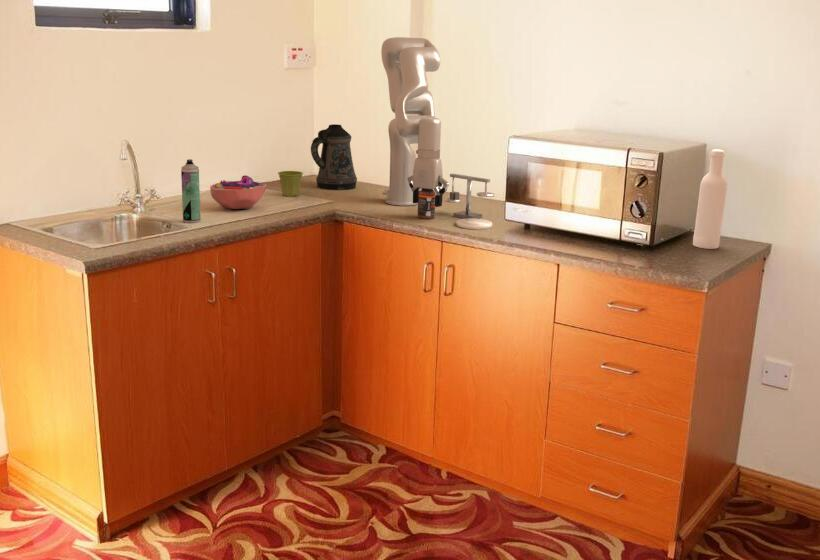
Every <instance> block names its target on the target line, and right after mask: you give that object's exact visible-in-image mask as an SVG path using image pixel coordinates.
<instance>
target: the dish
mask: <svg viewBox="0 0 820 560" xmlns="http://www.w3.org/2000/svg"><path fill="white" fill-rule="evenodd" d="M455 226H457V227H458V228H460V229H465V230H466V229H467V230H475V231H476V230H478V231H479V230H480V231H481V230H488V229H491V228H493V222H492V221H490V220H488V219H482V218H478V219H474V218H467V219H464V218H460V219H457V220H456V224H455Z"/></svg>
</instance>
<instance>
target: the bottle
mask: <svg viewBox="0 0 820 560" xmlns="http://www.w3.org/2000/svg"><path fill="white" fill-rule="evenodd" d="M724 158H725V151H724V150H722V149H712V150H711V152H710V162H709V163H710V164H709V169H708V173H707V174H705V175H704V176H703V177H702V179H701V181H700V185H699V194H698V200H697V202H698V203H697V209H696V216H695V224H694V232H693V233H694V234H693V235H692V236H693V237H692V245H693V247H695V248H700V249H707V250H716V249H718V248H719V247H720V243H721V232H722V226H723V225H722V224H723V219H724V218H723V217H724V212H725V211H724V210H725V202H726V195H727V189H728V188H727V187H728V183H727V179H726V177H725V176H724V175H723V174H722V171H723V165H724Z"/></svg>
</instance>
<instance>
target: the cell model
mask: <svg viewBox="0 0 820 560" xmlns="http://www.w3.org/2000/svg"><path fill="white" fill-rule="evenodd" d="M209 188H210V189H209V190H210V196H211V197H212V199H213V200H214V201H215V202H216V203H217V204H219V205H220V206H222V207H223V208H226V209H231V210H245V209H251V208H253V206H255V205H256V204H258V203H259V202H260V200H261V199H262V198H263V196H264V195H265V194H264V193H265V191H266V189H267V184H266V183H263V182H258V181H254V179H253V178H252V176H251V177H250V176H249V175H242V176H241V179H240V180H228V181H227V180H225V179H224V180H220V182H217V183H215V184H212V185H210V187H209Z"/></svg>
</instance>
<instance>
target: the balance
mask: <svg viewBox="0 0 820 560" xmlns="http://www.w3.org/2000/svg"><path fill="white" fill-rule="evenodd" d="M449 178H452V179H451V180H452V181H451V183H452V185H451V186H452V187H451V191H450V192H449V197H445V198H443V202H446V203H453V204H454V203H456V204H457V203H461V202H462V199H461V198H460V192H459V191H454V190H455V189H454V188H455V178H456V179H462V180H466V195H465V196H466V197H465V198H466V199H465V210H461V211H456V212H453V216H452V217H455V218H460V219H467V218H474V219H482V218H483V214H482V213H479V212H478V213H477V212H472V211H471V205H472V204H471V203H472V185H473V181H475V182H481V183H485V185H484V191H481V192H479V191H478V192H477V193H476V196H477V197H482V198H492V197H495V193H493V192H488V190H487V188H488V184H489V183H491V179H489V178H484V177H477V176H471V175H464V174H458V173H450V174H449Z"/></svg>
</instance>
